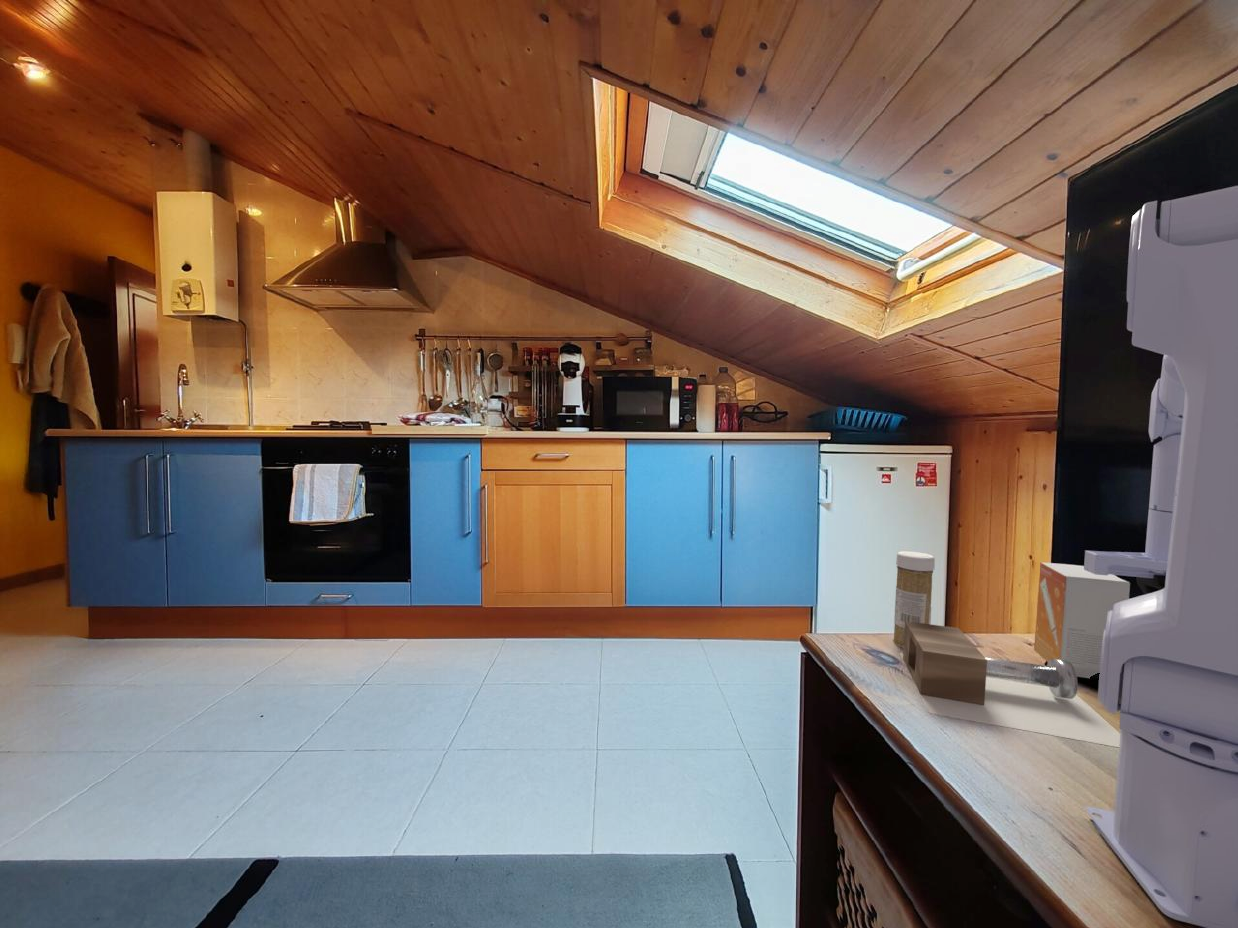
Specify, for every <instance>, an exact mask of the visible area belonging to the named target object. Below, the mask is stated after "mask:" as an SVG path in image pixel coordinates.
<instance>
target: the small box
mask: <svg viewBox="0 0 1238 928" xmlns="http://www.w3.org/2000/svg"><path fill="white" fill-rule="evenodd" d="M1038 581H1039V582H1038V592H1037V594H1038V596H1037V604H1036V605H1037V606H1036V619H1035V620H1036V621H1035V631H1034V633H1035V634H1034V647H1033V650H1034V652H1036V653H1037V654H1038V655H1040V657H1042V659H1044V660H1045V661H1046V662H1047V663H1048V661H1049V660H1050V659H1052V658H1053V659H1060V660H1067V661H1069V662H1070V663H1071V664H1072V665H1073V667H1074V669H1075V672H1076V676H1077V678H1078V677H1079V678H1086V679H1090V677H1091V676H1093V675H1095V674H1097V673H1100V662H1101V651H1102V642H1103V634H1104V630H1105V629H1106V622H1107V614H1108V612H1109V611H1111V610H1112V611H1113V606H1114V604H1116V603H1118V602H1121V601H1124V600H1127V599H1130V590H1131V587H1130V586H1131V582H1130V581H1127V580H1126V579H1122V578H1120V577H1118V575H1112V574H1108V575H1096V574H1093V573H1091V572H1088V571H1086V570H1084V565H1079V564H1078V565H1077V564H1069V563H1068V564H1067V563H1053V562H1043V561H1042V562H1040V563H1039V579H1038Z"/></svg>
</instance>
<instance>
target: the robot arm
mask: <svg viewBox="0 0 1238 928" xmlns="http://www.w3.org/2000/svg"><path fill="white" fill-rule="evenodd" d="M1157 210H1158V200H1154V201H1149V202H1146V203H1144V204H1143V206H1142V208H1140V209H1139V210H1137V212H1135V214H1134V215H1132V218H1131V226H1130V237H1129V245H1128V247H1129V248H1128V260H1127V263H1128V264H1127V277H1126V302H1127V317H1126V318H1127V319H1126V329H1127V331H1129V332H1132V334H1131V335H1132V336H1131V344H1132V346H1133V347H1136V348H1140V349H1143V350H1147V351H1151V352H1153V353H1157V354H1160V355H1163V357H1162V364H1161V372H1160V378H1158V379H1157V380H1156V382H1155V384H1154V386H1153V390H1152V392H1151V396H1150V398H1151V399H1150V407H1149V419H1148V420H1149V421H1148V422H1149V423H1148V435H1149V439H1150V442H1151V443H1154V440H1156V439H1158V438H1159V437H1161V438H1162V440H1160V441H1158V442H1156V443H1154V445H1153V451H1152V462H1151V463H1152V464H1151V479H1150V492H1149V503H1148V515H1147V525H1146V526H1147V527H1146V537H1145V538H1146V539H1145V552H1131V551H1129V552H1128V551H1123V552H1122V551H1098V550H1084V563H1083V566H1084V570H1086V571H1088V572H1091V573H1093V574H1096V575H1108V574H1112V575H1115V576H1122V577H1124V576H1125V577H1136V583H1137V586H1138V587H1139V589H1140V590H1141V592H1142V593H1143V594H1142V595H1138V596H1135V597H1132V598H1129V599H1127V600H1124V601H1121V602H1118V603H1116V604H1114V606H1113V611H1112V610H1111V611H1109V612H1108V614H1107V622H1106V629H1105V630H1104V634H1103V642H1102V651H1101V662H1100V674H1099V680H1098V689H1097V700H1098V702H1099V703H1100V704H1101V706H1103V707H1104V709H1105V711H1106V712H1107V713H1111V714H1114V715H1117V713H1118V712H1120V713H1119V725H1118V727H1119V730H1120V732H1119V733H1120V744H1119V748H1118V758H1117V761H1118V762H1117V771H1116V774H1117V775H1116V783H1115V797H1114V809H1113V811H1111V810H1107V809H1103V808H1102V809H1101V808H1097V807H1092V806H1085V807H1084V810H1085V811H1086V812H1087V814H1088V815H1089V817H1090V818H1089V821H1090V822H1091V823H1092V825H1093V826H1094V827H1095V828H1096V830H1097V831H1098V833H1099V834H1100V835H1101V836H1102V837H1103V838H1104V840H1105V841H1106V842H1107V844H1108V845H1109V847H1110V848H1111V849H1112V851H1113V852H1114V853H1115V854H1116V855H1117V856H1118V858H1119V859H1120V860H1121V862H1122V863H1123V864H1124V865H1125V867H1126V868H1127V869H1128V871H1129V872H1130V873H1131V874H1132V876H1133V877H1134V878H1135V880H1136V881H1137V883H1139V885H1140V886H1141V888H1143V890H1144V891H1145V893H1146V894H1147V895H1148V896H1149V898H1150V899H1151V900H1152V901H1153V903H1154V904H1155V905H1156V907H1157V908H1158V909H1159V911H1161V913H1163V915H1165V916H1167V917H1169V918H1171V919H1173V920H1176V921H1179V922H1183V923H1187V924H1191V925H1195V926H1199V927H1201V928H1238V185H1234V186H1229V187H1226V188H1221V189H1216V190H1211V191H1207V192H1203V193H1198V194H1193V195H1189V196H1184V197H1180V198H1175V199H1171V200H1170V199H1169V200H1164V201H1162V202H1161V204H1160V213H1159V219H1158V218H1157ZM1094 814H1095V815H1098V816H1100V817H1097V816H1095V815H1094Z"/></svg>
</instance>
